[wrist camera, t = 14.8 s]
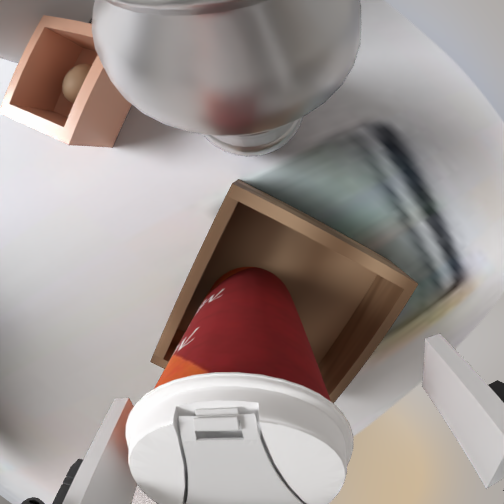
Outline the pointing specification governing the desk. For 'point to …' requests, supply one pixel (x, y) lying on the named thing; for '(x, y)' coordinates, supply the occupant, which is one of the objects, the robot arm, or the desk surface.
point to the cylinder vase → (34, 21)
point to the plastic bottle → (228, 63)
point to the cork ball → (74, 81)
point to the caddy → (298, 280)
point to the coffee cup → (240, 407)
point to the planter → (50, 87)
